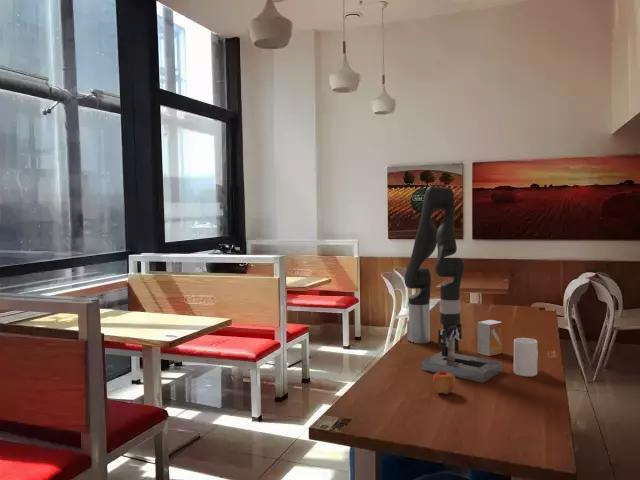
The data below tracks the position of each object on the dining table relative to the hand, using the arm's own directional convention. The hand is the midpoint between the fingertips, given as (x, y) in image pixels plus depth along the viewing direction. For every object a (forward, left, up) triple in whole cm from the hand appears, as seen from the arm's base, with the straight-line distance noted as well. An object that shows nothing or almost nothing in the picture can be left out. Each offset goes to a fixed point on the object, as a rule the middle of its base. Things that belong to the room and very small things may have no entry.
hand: (450, 353), depth 200 cm
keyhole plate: (+4, 0, -6) cm, 7 cm away
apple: (+10, -25, -6) cm, 28 cm away
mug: (+24, +13, -6) cm, 27 cm away
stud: (0, 0, -6) cm, 6 cm away
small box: (+4, +28, -6) cm, 29 cm away
